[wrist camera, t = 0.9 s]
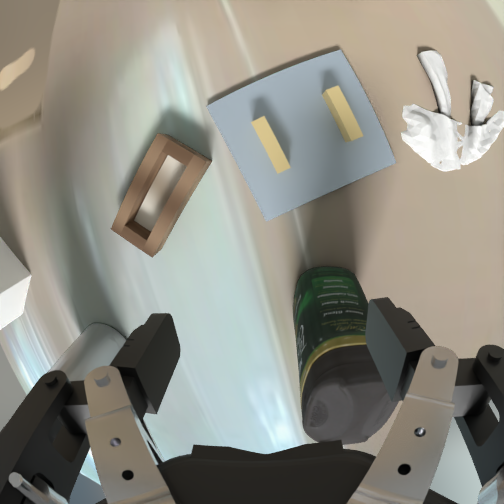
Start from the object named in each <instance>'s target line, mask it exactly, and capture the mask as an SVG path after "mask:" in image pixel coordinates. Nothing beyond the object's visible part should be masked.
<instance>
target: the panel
mask: <svg viewBox="0 0 504 504" xmlns="http://www.w3.org/2000/svg"><path fill="white" fill-rule="evenodd" d="M206 107H207V109H208V111H209V113H210V114H211V116H212V118H213V120H214V122H215V124H216V125H217V127H218V129H219V131H220V133H221V135H222V137H223V139H224V140H225V142H226V144H227V146H228V148H229V150H230V152H231V154H232V156H233V157H234V159H235V161H236V163H237V165H238V167H239V169H240V171H241V173H242V175H243V177H244V179H245V181H246V183H247V184H248V186H249V188H250V190H251V192H252V194H253V196H254V198H255V200H256V202H257V204H258V206H259V208H260V210H261V212H262V214H263V216H264V218H265V220H266V221H269V220H271V219H273V218H275V217H277V216H279V215H281V214H284V213H286V212H288V211H290V210H292V209H294V208H297V207H299V206H301V205H303V204H305V203H307V202H310V201H312V200H314V199H316V198H318V197H321V196H323V195H325V194H327V193H329V192H332V191H334V190H336V189H338V188H341V187H343V186H345V185H347V184H349V183H352V182H354V181H356V180H358V179H361V178H363V177H365V176H367V175H370V174H372V173H374V172H377V171H379V170H381V169H383V168H386V167H388V166H390V165H393V164H395V163H396V161H395V158H394V156H393V153H392V151H391V148H390V146H389V143H388V141H387V138H386V136H385V134H384V131H383V129H382V127H381V125H380V122H379V120H378V118H377V116H376V114H375V112H374V110H373V108H372V106H371V103H370V101H369V99H368V97H367V96H366V94H365V92H364V90H363V88H362V86H361V84H360V82H359V80H358V79H357V77H356V75H355V73H354V71H353V70H352V68H351V66H350V64H349V63H348V61H347V59H346V58H345V56H344V54H343V53H342V51H341V50H337V51H334V52H331V53H328V54H325V55H322V56H319V57H316V58H313V59H310V60H307V61H305V62H302V63H299V64H297V65H294V66H291V67H289V68H286V69H284V70H281V71H279V72H276V73H274V74H272V75H269V76H267V77H265V78H262V79H260V80H258V81H256V82H254V83H251V84H249V85H247V86H245V87H243V88H241V89H239V90H237V91H235V92H233V93H231V94H229V95H227V96H225V97H223V98H221V99H219V100H217V101H215V102H213V103H211V104H210V105H208V106H206Z"/></svg>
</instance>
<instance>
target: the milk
mask: <svg viewBox="0 0 504 504" xmlns="http://www.w3.org/2000/svg"><path fill="white" fill-rule="evenodd" d="M31 275H32V274H31V273H30V272H29V271H28V270H27V269H26V268H25V266H24V265H23V264H22V263H21V262H20V261H19V259H18V258H17V257H16V256H15V255H14V253H13V252H12V251H11V250H10V248H9V247H8V246H7V245H6V243H5V242H4V241H3V239H2V238H1V237H0V330H1V329H2V328H3V327H5V326H6V325H7V324H9V323H10V322H12V321H13V320H14V319H16V318H17V317H19V316H20V315H22V314H23V310H24V305H25V300H26V296H27V291H28V287H29V283H30V279H31Z"/></svg>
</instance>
